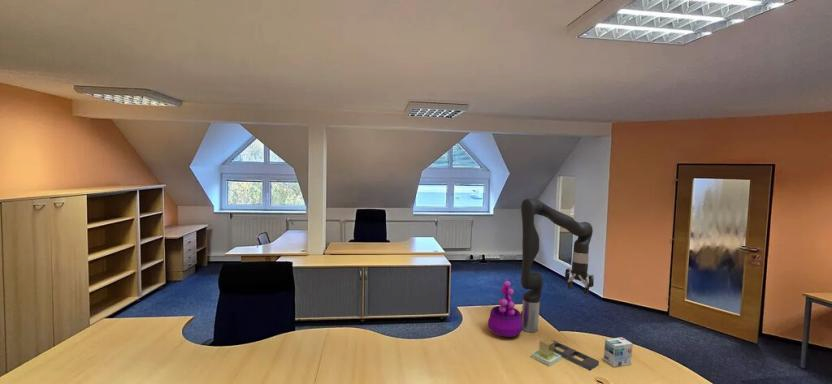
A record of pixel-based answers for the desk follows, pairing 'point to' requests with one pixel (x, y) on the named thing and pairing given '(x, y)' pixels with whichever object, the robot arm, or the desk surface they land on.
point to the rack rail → (569, 353)
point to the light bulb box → (618, 352)
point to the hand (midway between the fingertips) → (577, 291)
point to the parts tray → (549, 363)
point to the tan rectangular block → (546, 349)
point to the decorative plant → (505, 315)
